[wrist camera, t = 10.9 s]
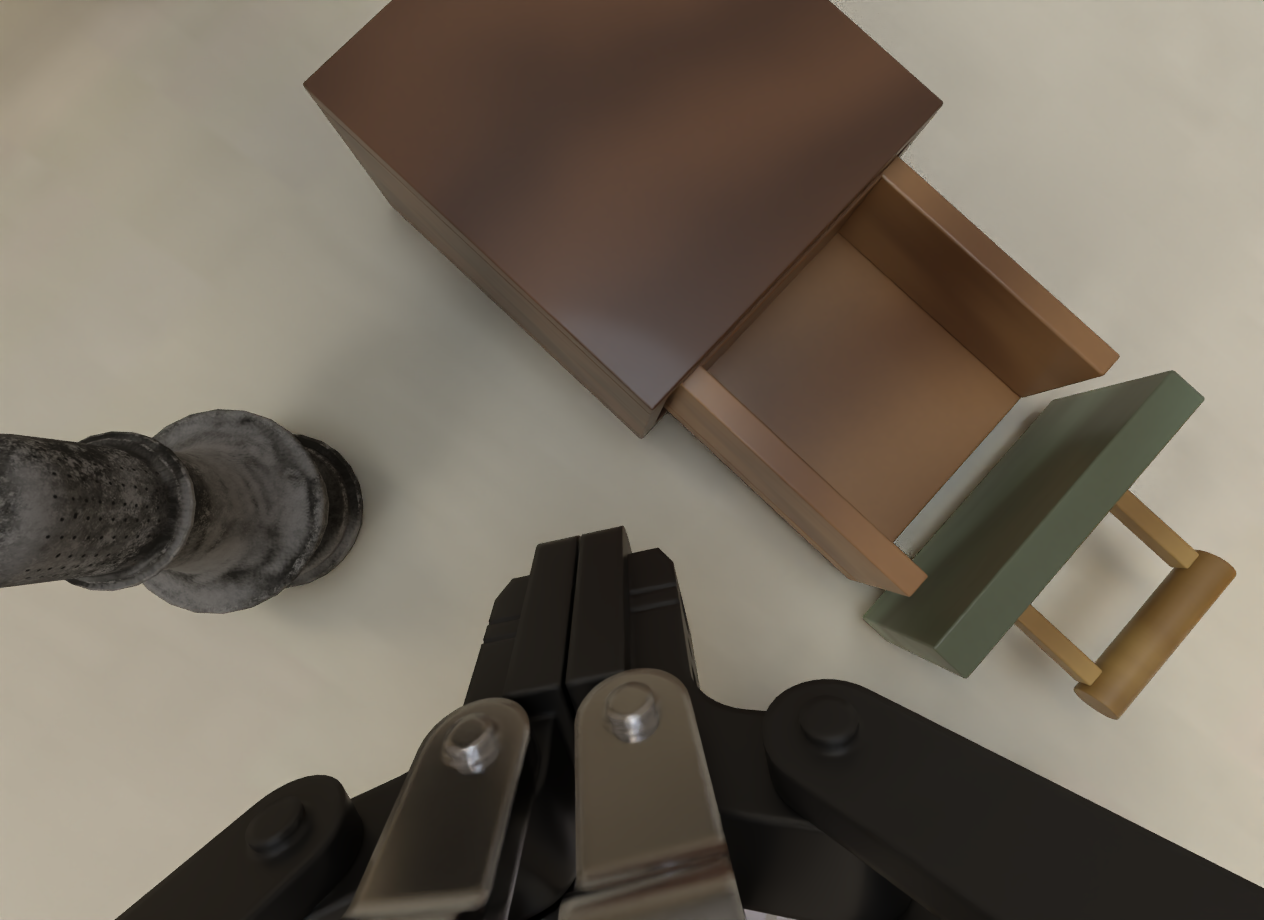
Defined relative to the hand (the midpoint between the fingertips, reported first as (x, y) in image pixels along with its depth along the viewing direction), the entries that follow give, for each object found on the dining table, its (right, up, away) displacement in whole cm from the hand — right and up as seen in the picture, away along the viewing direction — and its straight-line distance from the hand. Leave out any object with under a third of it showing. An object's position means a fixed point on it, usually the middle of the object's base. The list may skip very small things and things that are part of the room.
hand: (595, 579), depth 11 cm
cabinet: (0, +11, +12) cm, 16 cm away
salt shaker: (-11, 0, +11) cm, 16 cm away
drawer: (+10, +2, +10) cm, 15 cm away
